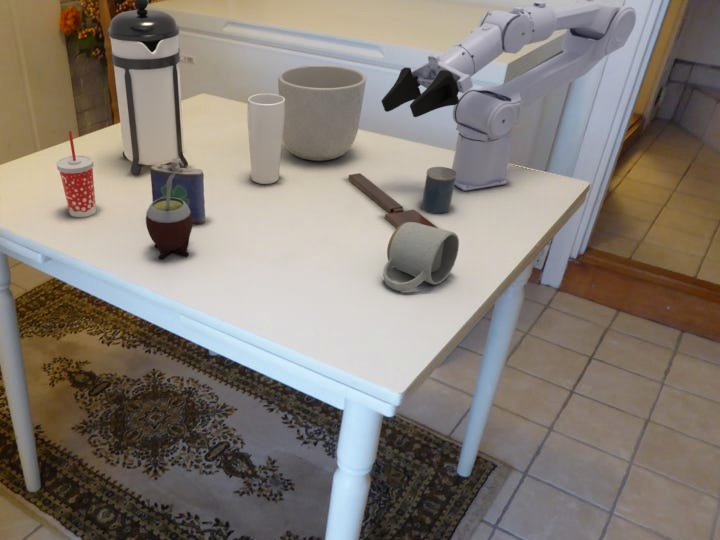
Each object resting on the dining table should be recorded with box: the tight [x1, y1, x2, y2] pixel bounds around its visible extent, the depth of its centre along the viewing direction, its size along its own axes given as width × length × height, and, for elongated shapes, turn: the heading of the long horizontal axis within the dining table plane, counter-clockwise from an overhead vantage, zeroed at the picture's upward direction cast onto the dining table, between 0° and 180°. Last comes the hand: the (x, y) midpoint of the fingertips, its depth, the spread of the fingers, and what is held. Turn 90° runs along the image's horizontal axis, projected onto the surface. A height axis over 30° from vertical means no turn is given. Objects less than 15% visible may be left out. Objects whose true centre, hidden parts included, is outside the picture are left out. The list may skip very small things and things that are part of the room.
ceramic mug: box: [382, 222, 460, 292], centre depth 98 cm, size 11×8×8 cm
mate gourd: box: [145, 173, 194, 261], centre depth 102 cm, size 8×8×15 cm
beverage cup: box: [55, 130, 97, 218], centre depth 115 cm, size 6×6×14 cm
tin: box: [420, 166, 457, 215], centre depth 117 cm, size 5×5×6 cm
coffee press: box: [107, 0, 189, 176], centre depth 129 cm, size 17×16×30 cm
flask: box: [149, 158, 206, 225], centre depth 113 cm, size 9×3×11 cm, turn 74°
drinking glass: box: [246, 93, 285, 185], centre depth 125 cm, size 7×7×15 cm
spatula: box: [348, 172, 438, 229], centre depth 120 cm, size 6×26×1 cm, turn 19°
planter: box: [277, 64, 367, 162], centre depth 136 cm, size 17×17×15 cm
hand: (398, 108), depth 111 cm, fingers open, 7 cm apart
